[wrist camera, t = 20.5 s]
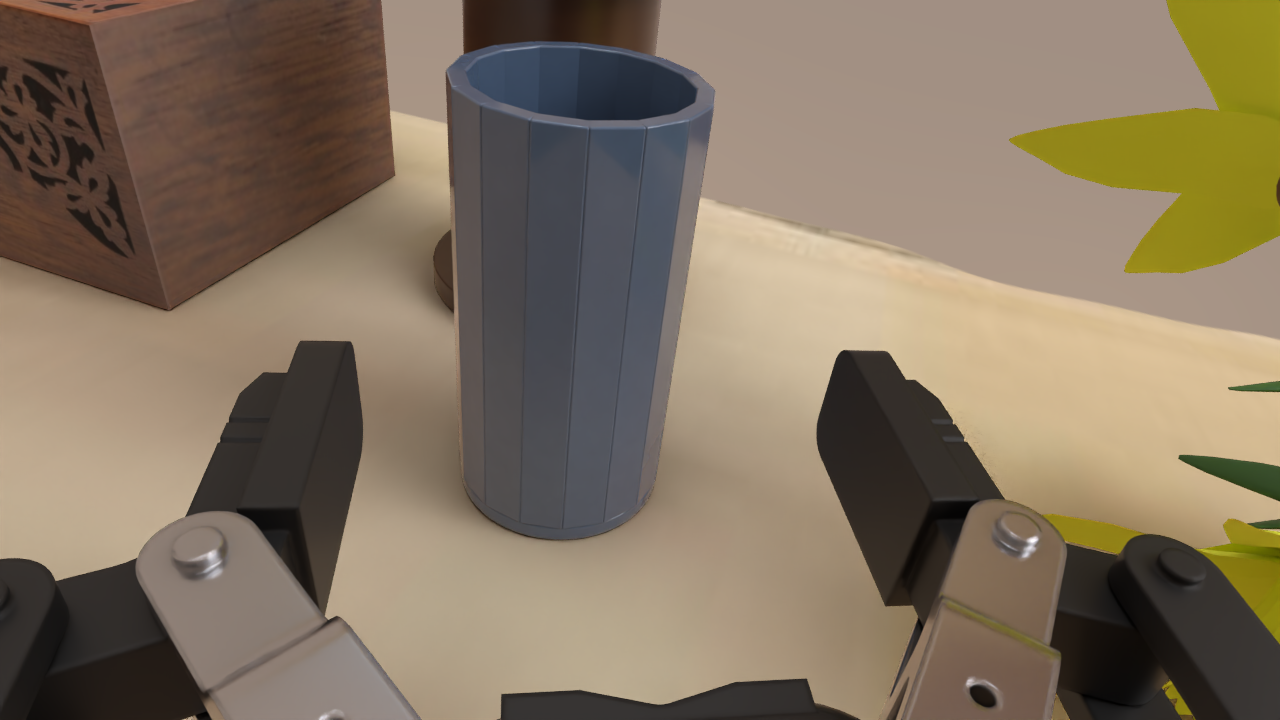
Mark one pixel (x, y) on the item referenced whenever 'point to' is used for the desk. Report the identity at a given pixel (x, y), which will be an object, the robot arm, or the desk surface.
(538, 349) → the cup
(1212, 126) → the daffodil flowers
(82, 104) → the tissue box cover
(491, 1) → the stand
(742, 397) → the desk surface
